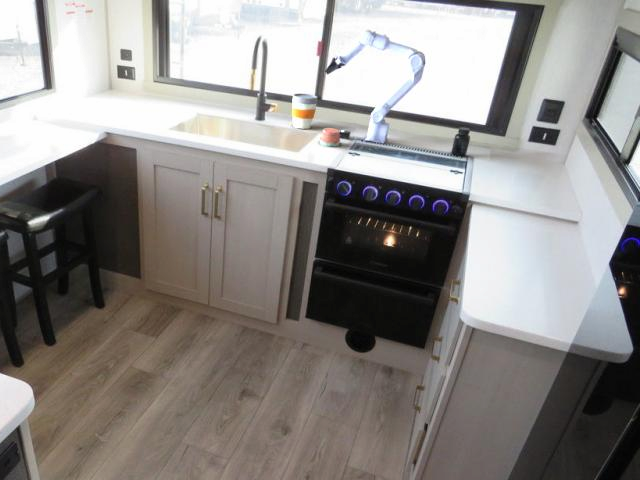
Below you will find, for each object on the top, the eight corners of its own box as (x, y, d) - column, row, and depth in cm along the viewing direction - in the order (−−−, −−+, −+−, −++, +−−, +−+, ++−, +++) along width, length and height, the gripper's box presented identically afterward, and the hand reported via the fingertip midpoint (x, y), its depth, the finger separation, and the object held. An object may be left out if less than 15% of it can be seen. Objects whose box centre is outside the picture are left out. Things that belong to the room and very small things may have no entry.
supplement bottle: (465, 153, 272) (472, 127, 265) (465, 157, 266) (472, 131, 260) (450, 151, 274) (457, 125, 267) (450, 155, 268) (456, 129, 262)
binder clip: (349, 138, 283) (350, 131, 281) (348, 139, 281) (349, 132, 279) (339, 136, 284) (340, 129, 283) (338, 137, 282) (339, 131, 280)
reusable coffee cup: (300, 122, 303) (303, 92, 295) (318, 127, 295) (322, 97, 288) (284, 125, 295) (287, 94, 287) (303, 130, 287) (307, 99, 280)
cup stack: (341, 142, 276) (343, 129, 272) (336, 148, 268) (338, 134, 265) (322, 139, 278) (324, 126, 275) (317, 144, 271) (319, 131, 268)
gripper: (348, 42, 271) (326, 62, 279) (341, 46, 260) (319, 66, 267) (357, 55, 272) (335, 74, 280) (351, 58, 261) (328, 79, 268)
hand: (328, 71), depth 274 cm, fingers open, 7 cm apart
